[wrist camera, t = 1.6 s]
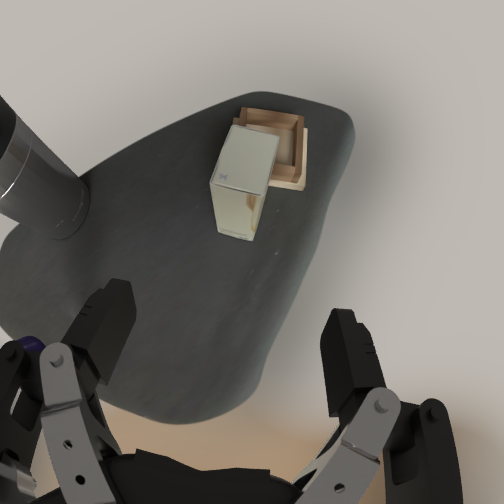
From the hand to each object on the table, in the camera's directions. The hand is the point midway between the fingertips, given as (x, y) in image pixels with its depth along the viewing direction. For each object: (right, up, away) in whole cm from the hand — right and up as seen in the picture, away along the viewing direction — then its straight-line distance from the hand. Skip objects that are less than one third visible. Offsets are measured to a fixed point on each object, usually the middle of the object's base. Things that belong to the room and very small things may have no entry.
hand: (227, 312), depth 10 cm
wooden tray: (+3, +15, +24) cm, 28 cm away
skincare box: (0, +7, +22) cm, 23 cm away
